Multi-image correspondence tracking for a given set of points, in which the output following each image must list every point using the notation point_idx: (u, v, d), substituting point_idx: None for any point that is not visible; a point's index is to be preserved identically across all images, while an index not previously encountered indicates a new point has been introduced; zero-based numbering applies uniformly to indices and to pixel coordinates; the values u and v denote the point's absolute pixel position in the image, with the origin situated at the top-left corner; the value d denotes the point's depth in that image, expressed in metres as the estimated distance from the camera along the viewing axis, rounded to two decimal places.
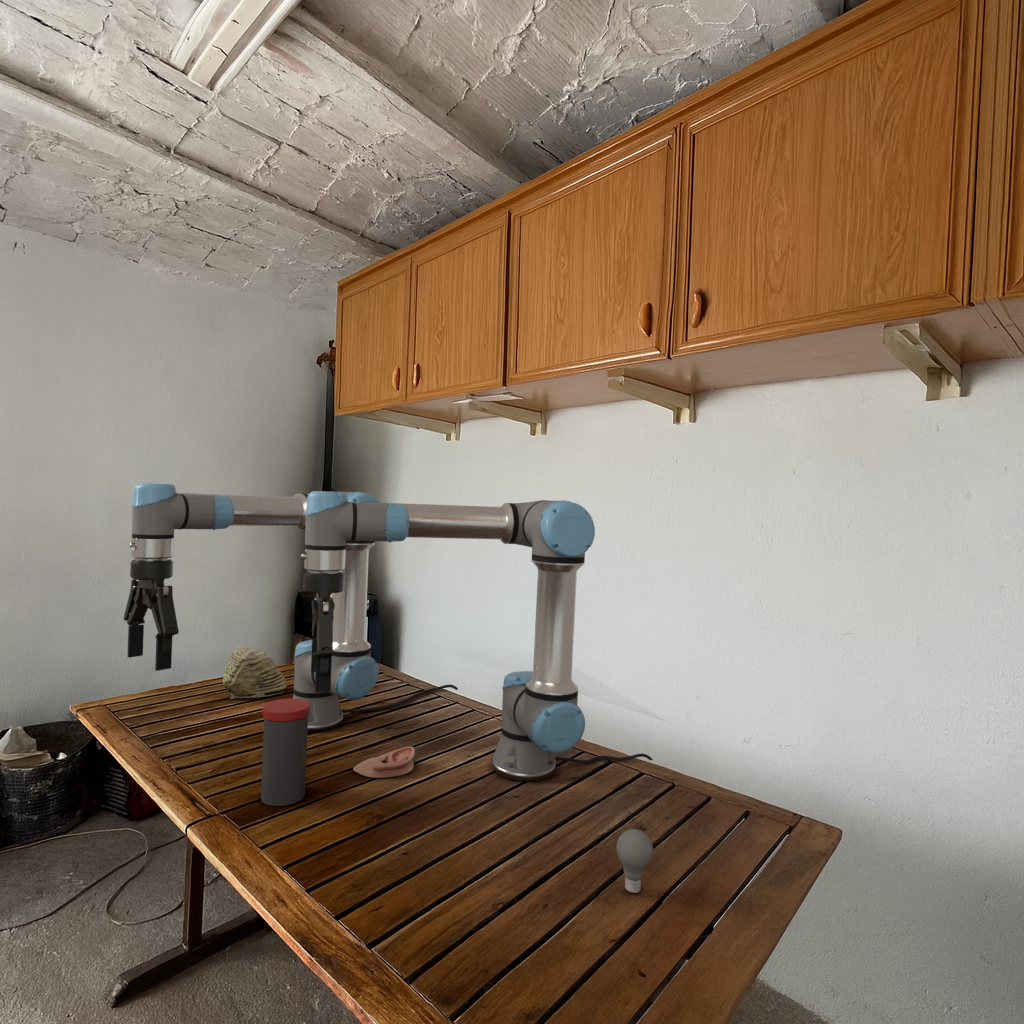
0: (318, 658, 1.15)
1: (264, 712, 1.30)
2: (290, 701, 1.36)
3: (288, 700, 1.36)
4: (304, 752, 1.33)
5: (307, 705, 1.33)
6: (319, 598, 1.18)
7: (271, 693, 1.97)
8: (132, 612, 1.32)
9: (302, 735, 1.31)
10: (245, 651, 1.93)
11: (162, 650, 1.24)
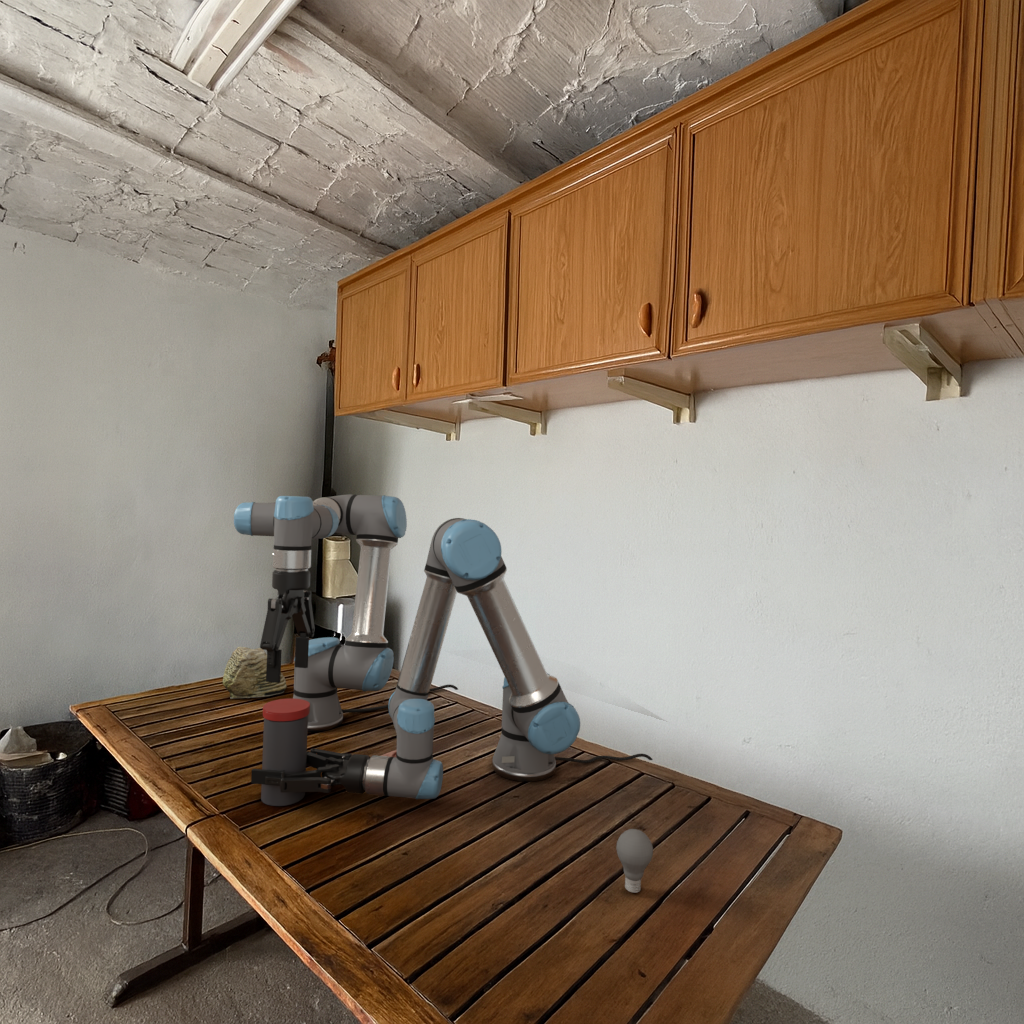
0: None
1: (264, 712, 1.30)
2: (290, 701, 1.36)
3: (288, 700, 1.36)
4: (304, 752, 1.33)
5: (307, 705, 1.33)
6: None
7: (271, 693, 1.97)
8: None
9: (302, 735, 1.31)
10: (245, 651, 1.93)
11: None
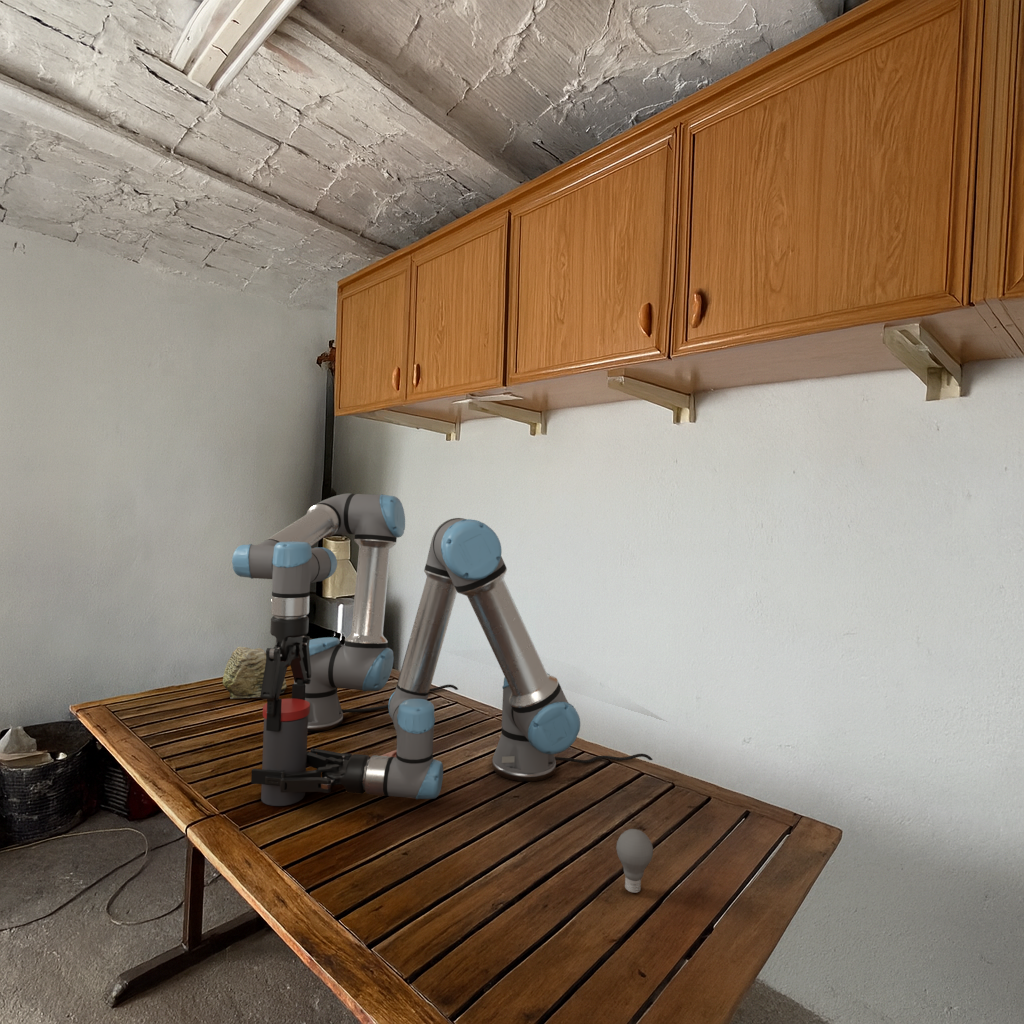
0: None
1: (264, 712, 1.30)
2: (290, 701, 1.36)
3: (288, 700, 1.36)
4: (304, 752, 1.33)
5: (307, 705, 1.33)
6: None
7: None
8: None
9: (302, 735, 1.31)
10: (245, 651, 1.93)
11: None
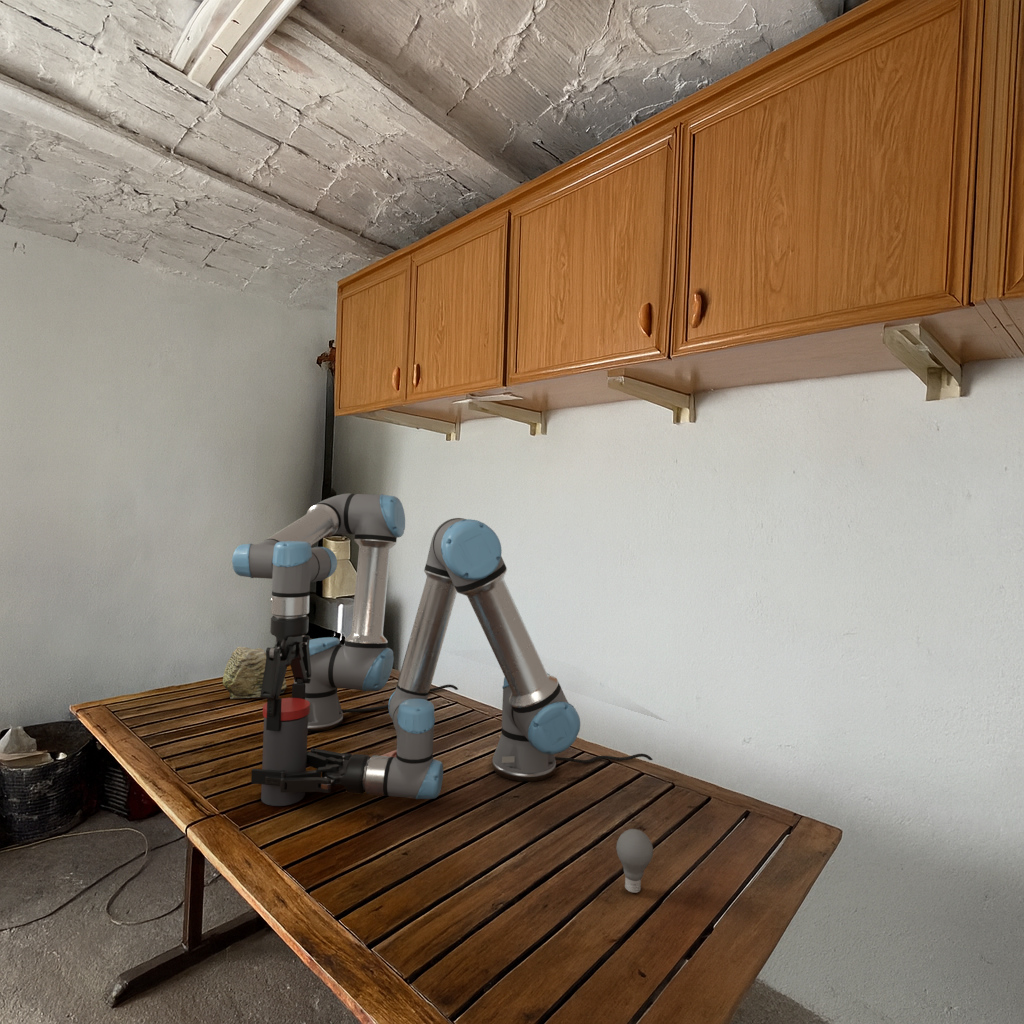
0: None
1: (292, 714, 1.29)
2: None
3: None
4: (304, 752, 1.33)
5: (294, 698, 1.37)
6: None
7: None
8: None
9: (302, 735, 1.31)
10: (245, 651, 1.93)
11: None
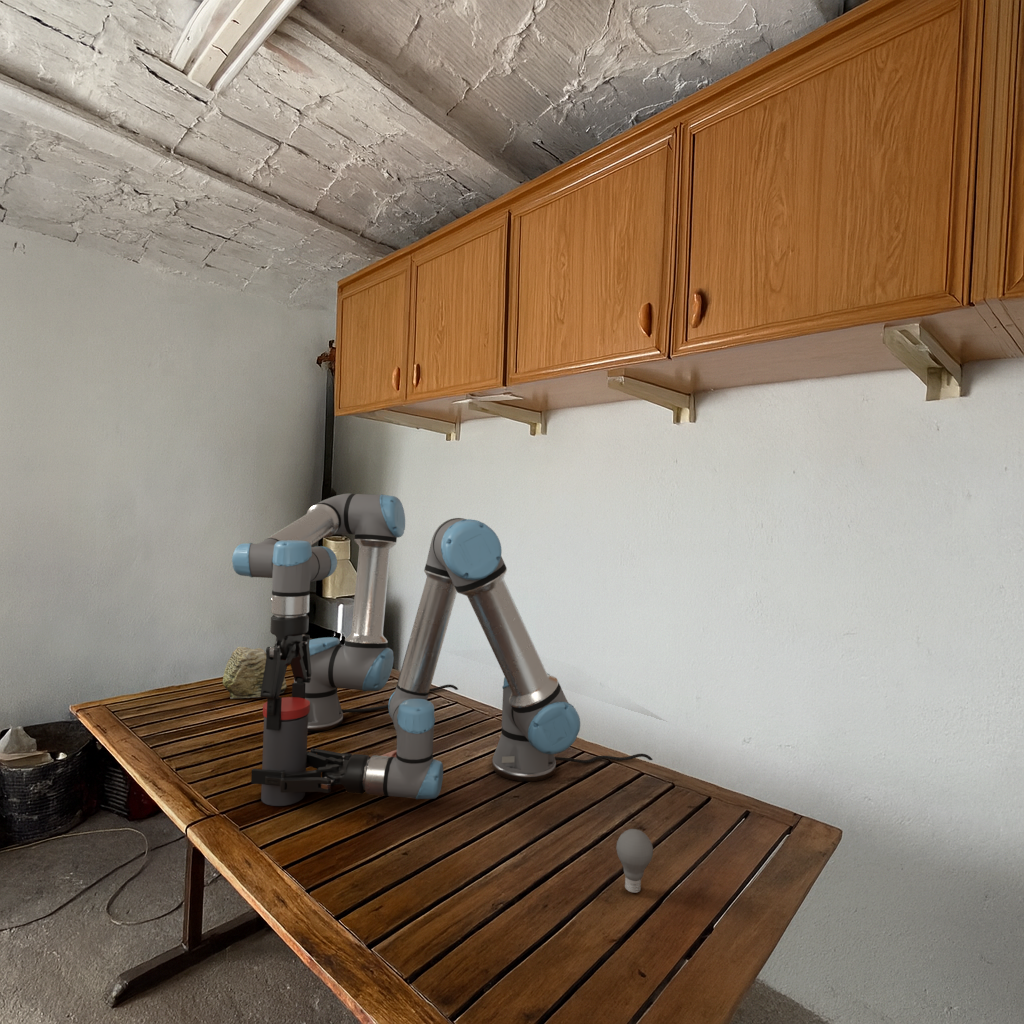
0: None
1: None
2: None
3: None
4: (304, 752, 1.33)
5: None
6: None
7: None
8: None
9: (302, 735, 1.31)
10: (245, 651, 1.93)
11: None
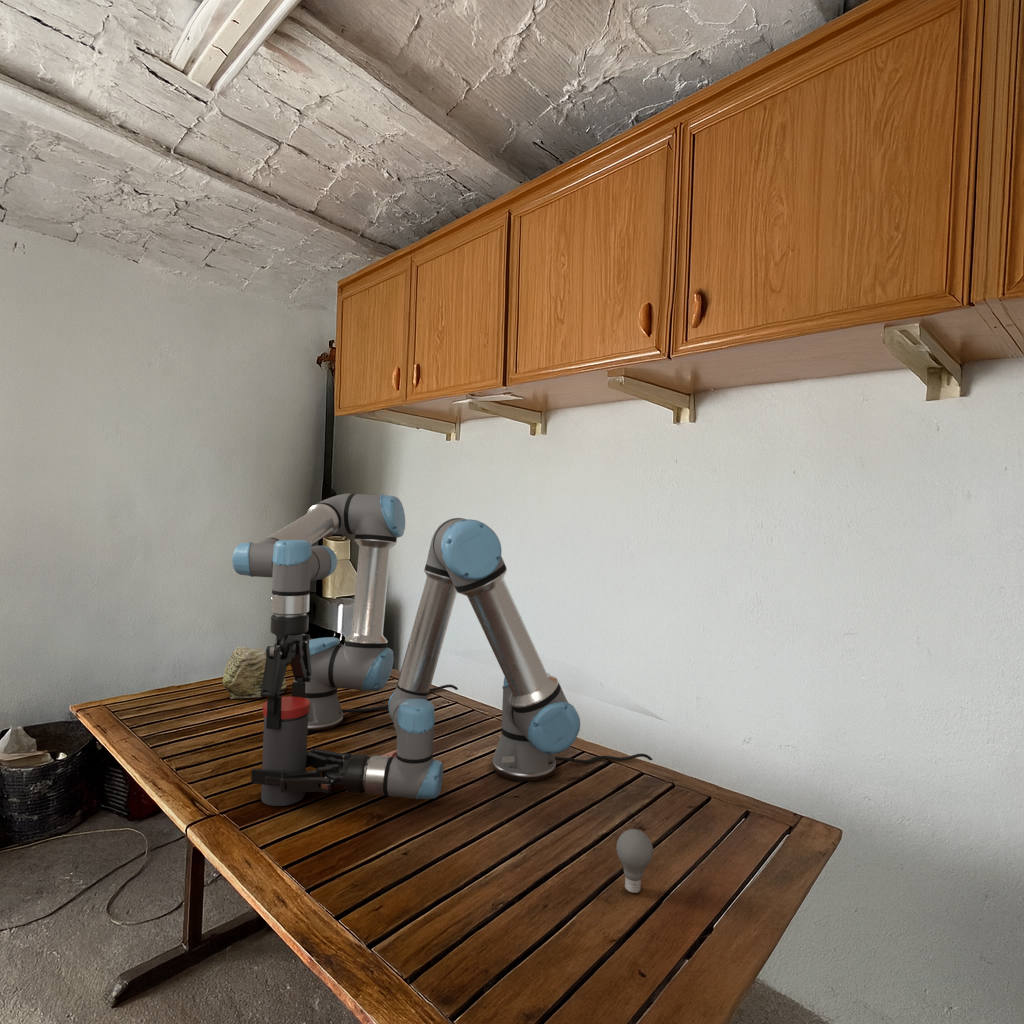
0: None
1: None
2: (296, 705, 1.32)
3: (301, 704, 1.32)
4: (304, 752, 1.33)
5: None
6: None
7: None
8: None
9: (302, 735, 1.31)
10: (245, 651, 1.93)
11: None
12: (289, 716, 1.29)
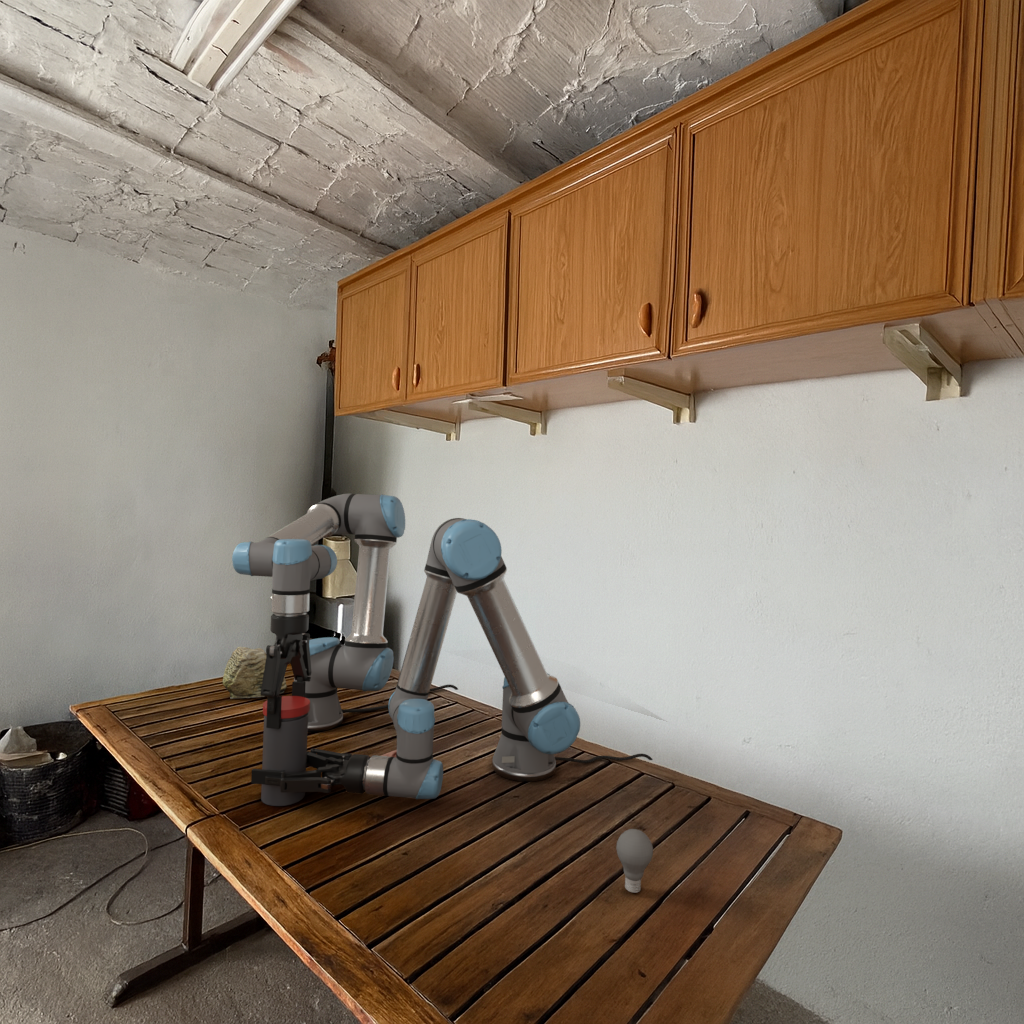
0: None
1: None
2: (296, 699, 1.35)
3: (296, 698, 1.36)
4: (304, 752, 1.33)
5: (302, 706, 1.31)
6: None
7: None
8: None
9: (302, 735, 1.31)
10: (245, 651, 1.93)
11: None
12: None
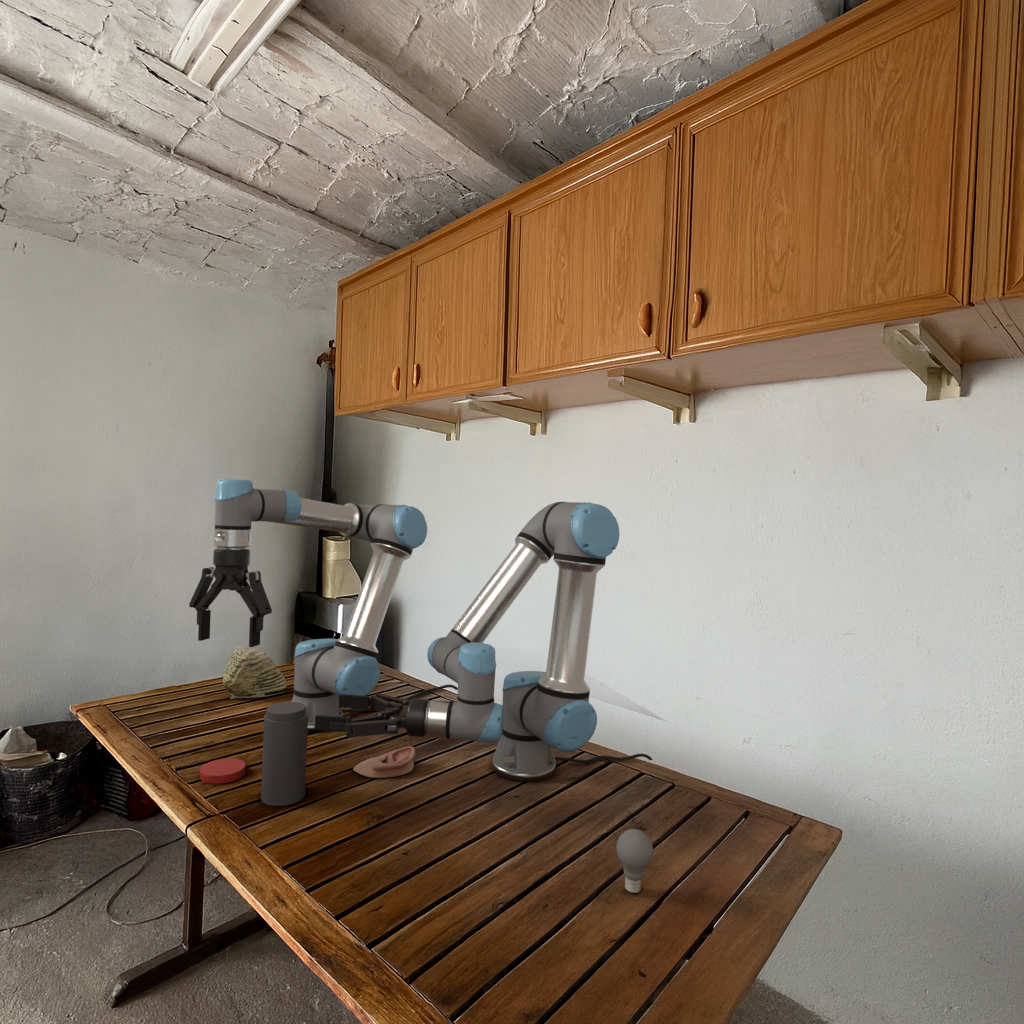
0: None
1: (215, 778, 1.37)
2: (216, 763, 1.44)
3: (212, 763, 1.43)
4: (304, 752, 1.33)
5: (239, 760, 1.46)
6: None
7: (271, 693, 1.97)
8: (205, 598, 1.42)
9: (302, 735, 1.31)
10: (245, 651, 1.93)
11: (256, 628, 1.39)
12: None
